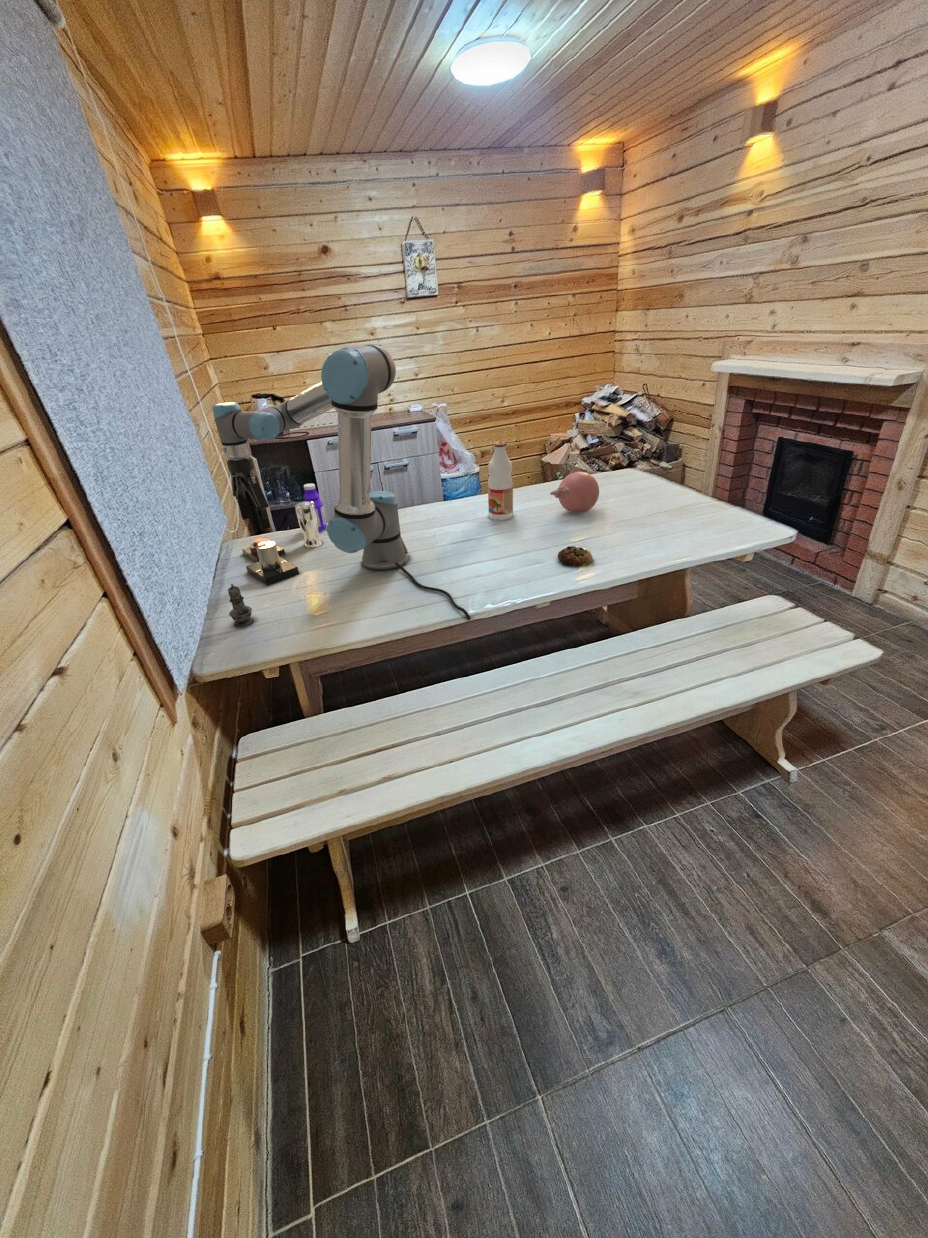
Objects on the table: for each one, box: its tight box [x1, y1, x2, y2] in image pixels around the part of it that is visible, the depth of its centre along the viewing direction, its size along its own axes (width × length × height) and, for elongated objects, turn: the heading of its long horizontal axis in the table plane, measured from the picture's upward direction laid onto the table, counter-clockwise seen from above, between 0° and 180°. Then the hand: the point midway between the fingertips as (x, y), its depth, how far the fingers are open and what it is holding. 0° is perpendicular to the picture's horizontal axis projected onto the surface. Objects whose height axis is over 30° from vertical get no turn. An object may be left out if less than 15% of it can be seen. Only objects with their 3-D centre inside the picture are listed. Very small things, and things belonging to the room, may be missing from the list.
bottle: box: [303, 483, 328, 532], centre depth 196 cm, size 7×6×17 cm
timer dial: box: [256, 540, 281, 570], centre depth 165 cm, size 6×6×8 cm
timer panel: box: [245, 556, 300, 587], centre depth 168 cm, size 14×11×3 cm
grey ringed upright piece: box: [227, 583, 255, 629], centre depth 139 cm, size 6×6×12 cm
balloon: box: [550, 471, 600, 514], centre depth 197 cm, size 15×20×15 cm
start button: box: [252, 536, 269, 547], centre depth 180 cm, size 5×5×2 cm
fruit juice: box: [487, 440, 514, 521], centre depth 195 cm, size 9×9×28 cm
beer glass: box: [294, 501, 323, 549], centre depth 184 cm, size 7×7×15 cm
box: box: [241, 538, 286, 563], centre depth 181 cm, size 12×10×4 cm
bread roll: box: [557, 545, 593, 567], centre depth 165 cm, size 11×11×5 cm
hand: (256, 523), depth 169 cm, fingers open, 13 cm apart
